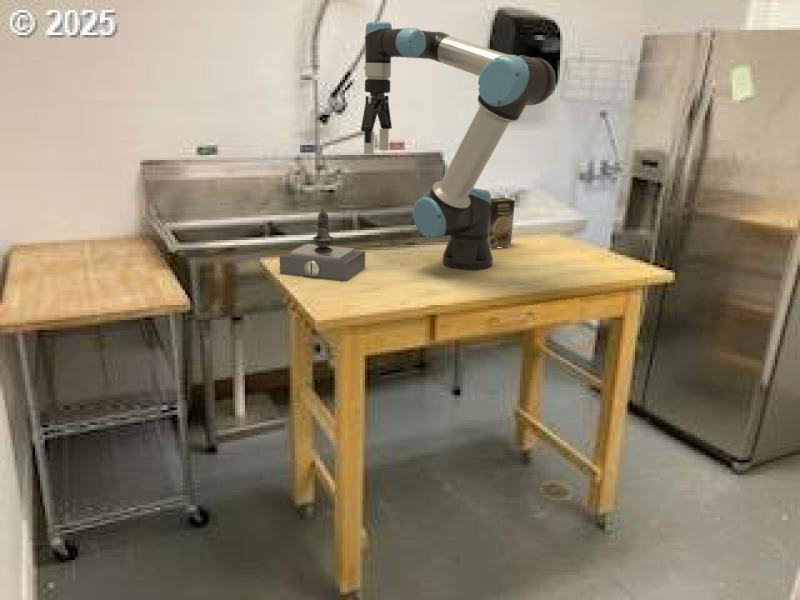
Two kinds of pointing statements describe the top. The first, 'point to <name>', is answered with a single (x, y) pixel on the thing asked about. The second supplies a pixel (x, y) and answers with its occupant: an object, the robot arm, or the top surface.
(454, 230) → the robot arm
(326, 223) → the dark chess piece
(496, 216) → the coffee box
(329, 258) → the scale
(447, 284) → the top surface
